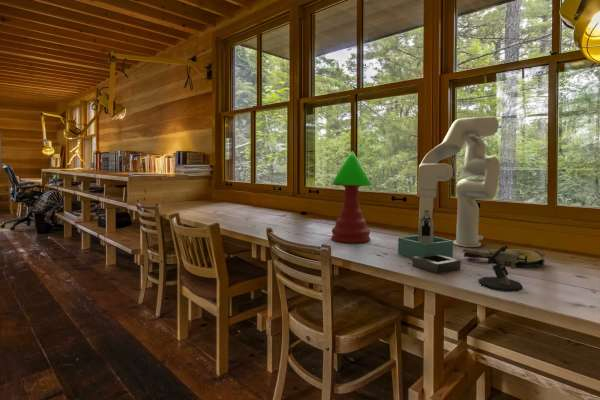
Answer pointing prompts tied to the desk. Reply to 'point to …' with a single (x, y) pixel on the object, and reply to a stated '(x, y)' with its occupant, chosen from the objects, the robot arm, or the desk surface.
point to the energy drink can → (425, 238)
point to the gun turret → (500, 270)
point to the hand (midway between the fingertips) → (425, 233)
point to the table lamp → (351, 203)
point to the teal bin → (424, 247)
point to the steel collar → (436, 263)
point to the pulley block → (533, 258)
